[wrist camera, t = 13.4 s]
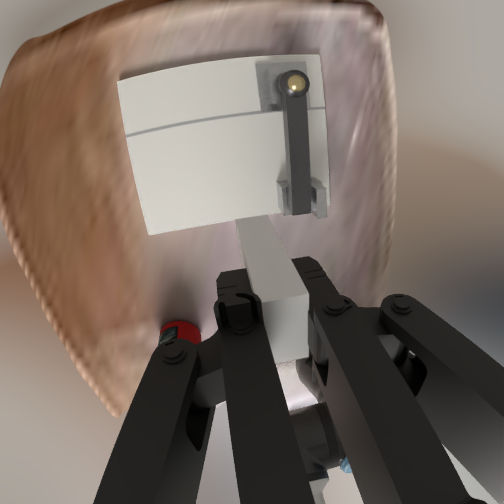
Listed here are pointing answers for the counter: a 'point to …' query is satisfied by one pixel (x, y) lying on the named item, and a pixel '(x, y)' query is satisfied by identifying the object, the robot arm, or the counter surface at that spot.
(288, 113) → the latch bar
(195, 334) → the beverage can
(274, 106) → the grey latch pivot mount
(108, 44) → the counter surface
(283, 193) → the keeper
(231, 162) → the door board
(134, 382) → the counter surface
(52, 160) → the counter surface
